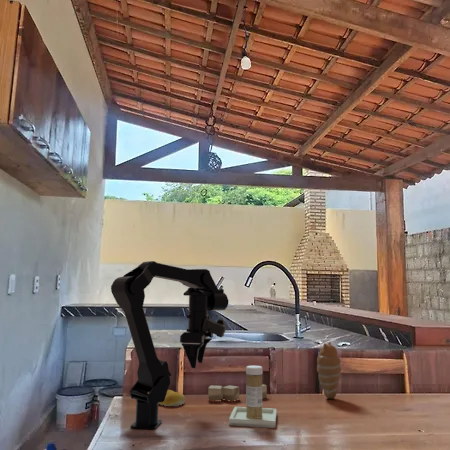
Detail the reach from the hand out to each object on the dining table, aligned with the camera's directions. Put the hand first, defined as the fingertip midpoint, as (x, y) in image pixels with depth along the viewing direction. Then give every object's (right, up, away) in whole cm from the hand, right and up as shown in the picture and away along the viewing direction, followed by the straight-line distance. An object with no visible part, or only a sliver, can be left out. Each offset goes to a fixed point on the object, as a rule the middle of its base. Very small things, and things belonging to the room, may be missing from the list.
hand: (197, 365), depth 119 cm
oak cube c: (+19, -16, +16) cm, 30 cm away
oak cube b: (+10, -16, +12) cm, 22 cm away
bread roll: (-9, -15, +7) cm, 19 cm away
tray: (+16, -12, -9) cm, 22 cm away
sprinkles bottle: (+16, -11, -9) cm, 22 cm away
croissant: (+43, -17, +15) cm, 49 cm away
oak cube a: (+5, -16, +12) cm, 21 cm away
